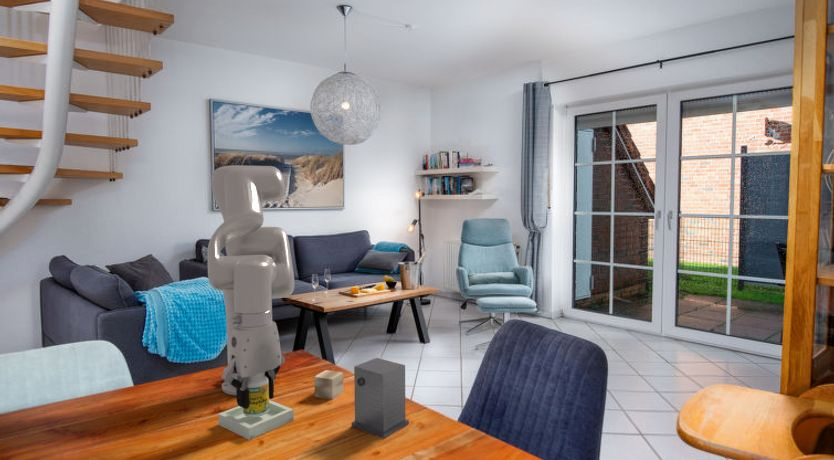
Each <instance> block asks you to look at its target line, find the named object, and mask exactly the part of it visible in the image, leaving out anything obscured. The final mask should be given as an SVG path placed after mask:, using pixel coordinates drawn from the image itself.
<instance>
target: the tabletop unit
mask: <svg viewBox="0 0 834 460" xmlns="http://www.w3.org/2000/svg"><path fill="white" fill-rule="evenodd" d="M353 371H354V374H353V375H354V376H353V377H354V379H353V380H354V421H351V427H353V428H355V429H357V430H360V431H364V432H366V433H368V434H371V435H374V436H376V437H379V438H382V439H386V438H387V437H389V436H391V435H393V434H394V433H396V432H398V431H399V430H401V429H404V428H405V427H406V426H408V425H410V420H409V419H406V365H405V364H401V363H398V362H395V361H391V360H386V359H384V358H383V359H382V358H380V357H375V358H372V359H370V360H368V361H365V362H362V363H360V364H357V365H355V366H354V368H353Z"/></svg>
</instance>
